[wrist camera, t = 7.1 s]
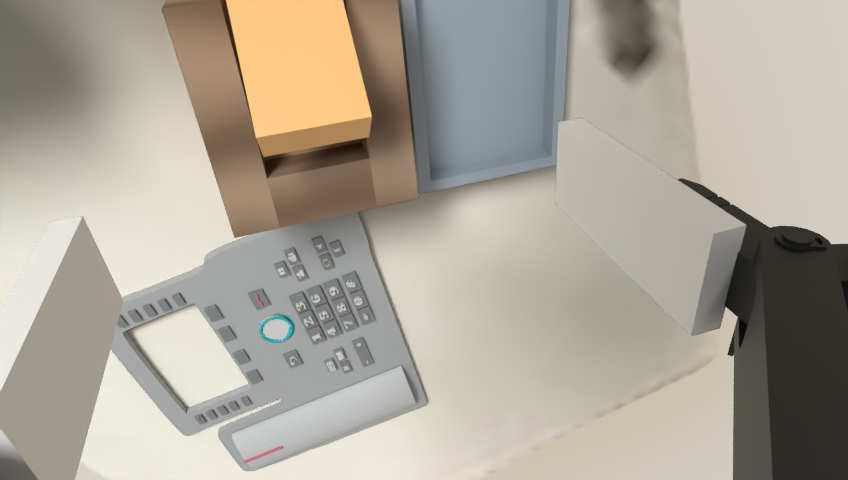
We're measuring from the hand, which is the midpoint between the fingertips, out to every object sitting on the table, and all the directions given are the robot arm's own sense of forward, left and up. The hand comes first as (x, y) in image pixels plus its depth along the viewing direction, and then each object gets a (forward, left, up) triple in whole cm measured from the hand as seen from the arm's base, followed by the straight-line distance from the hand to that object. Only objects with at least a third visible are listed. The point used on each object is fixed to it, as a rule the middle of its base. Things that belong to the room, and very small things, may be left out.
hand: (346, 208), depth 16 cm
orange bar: (-3, 0, -17) cm, 17 cm away
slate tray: (-1, +12, -22) cm, 25 cm away
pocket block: (+2, 0, -22) cm, 22 cm away
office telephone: (+24, -6, -23) cm, 34 cm away
